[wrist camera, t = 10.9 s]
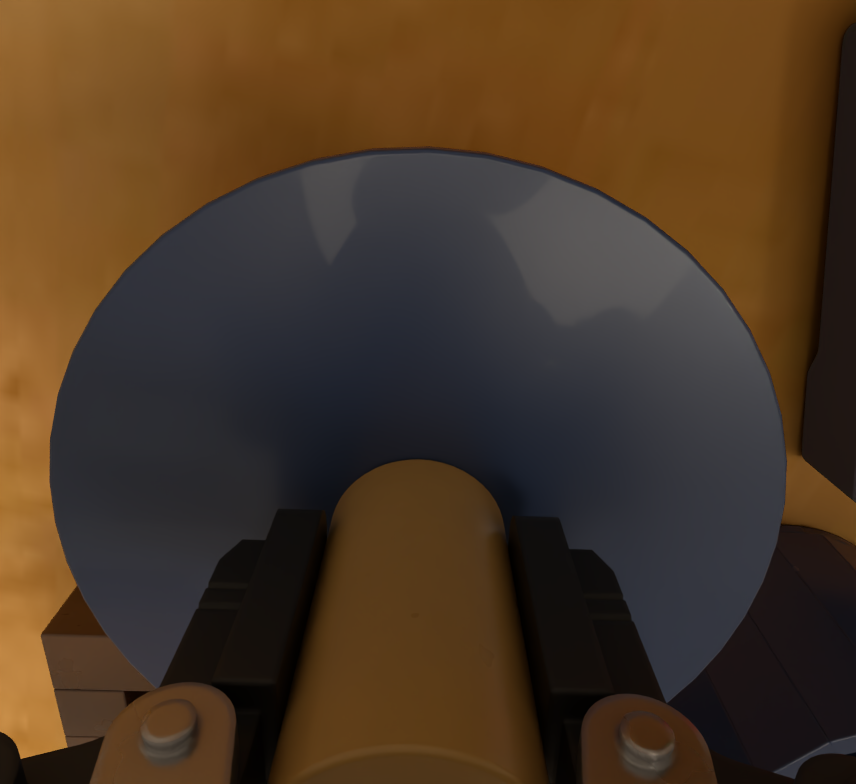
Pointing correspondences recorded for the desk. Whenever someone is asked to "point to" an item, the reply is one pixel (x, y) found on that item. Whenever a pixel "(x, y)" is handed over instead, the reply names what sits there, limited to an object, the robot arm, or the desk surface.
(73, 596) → the straw holder
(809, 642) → the tin
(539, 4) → the desk surface
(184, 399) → the tin lid
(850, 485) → the calculator
